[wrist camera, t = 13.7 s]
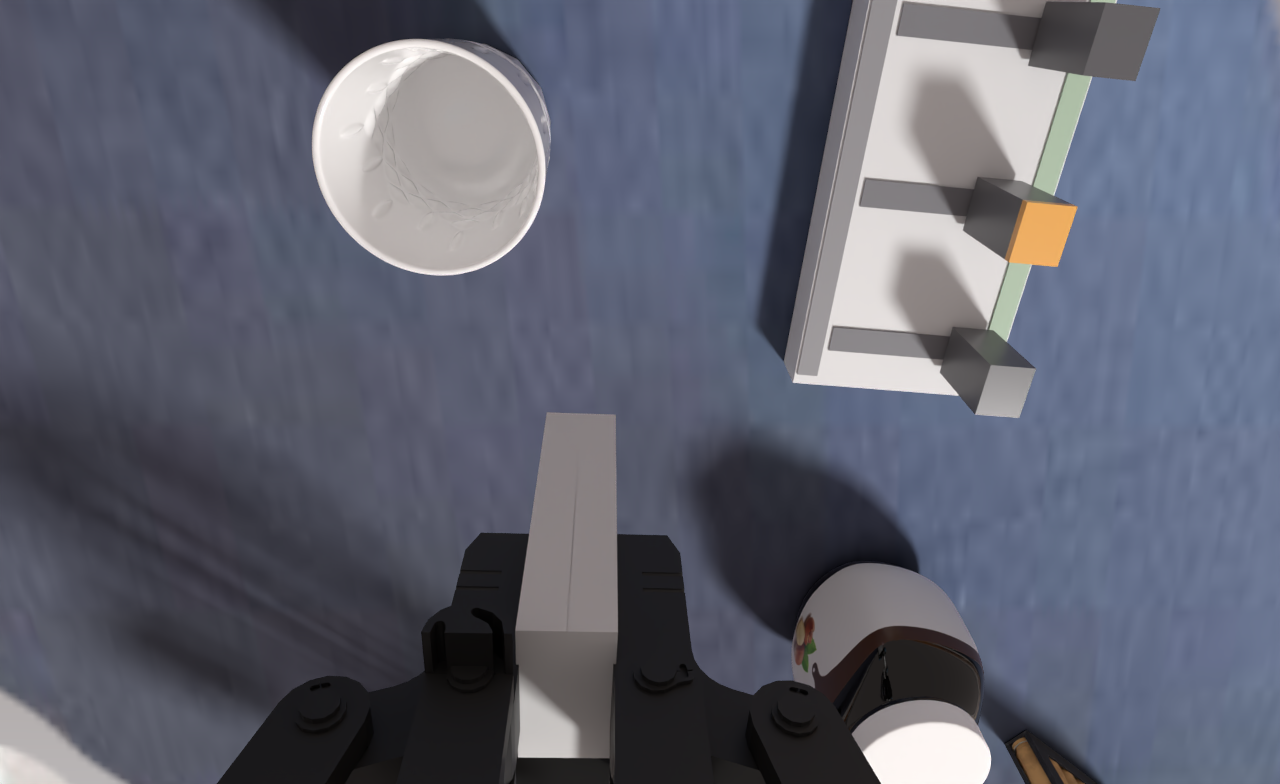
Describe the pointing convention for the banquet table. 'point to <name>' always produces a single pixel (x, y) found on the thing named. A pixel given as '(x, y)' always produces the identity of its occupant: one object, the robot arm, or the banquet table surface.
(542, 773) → the desk fan
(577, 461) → the robot arm
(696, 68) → the banquet table surface
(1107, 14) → the handle
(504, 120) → the white cup
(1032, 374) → the handle
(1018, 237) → the handle
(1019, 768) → the ammunition clip
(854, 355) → the breaker panel
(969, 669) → the spread jar
